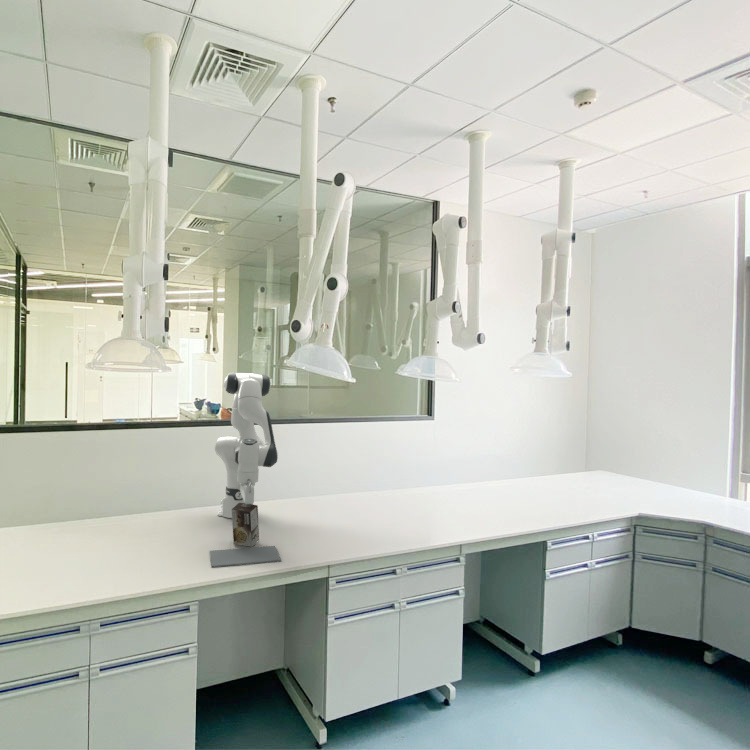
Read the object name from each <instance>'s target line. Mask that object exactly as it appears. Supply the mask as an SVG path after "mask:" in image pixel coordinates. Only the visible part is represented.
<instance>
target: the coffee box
mask: <svg viewBox="0 0 750 750" xmlns="http://www.w3.org/2000/svg"><path fill="white" fill-rule="evenodd" d="M258 507H259V506H258V504H253V505H252V504H245V503H238V504H237V505H236V506H235V507H234V508H232V518H231V523H232V524H231V525H232V536H233V537H232V540H233V544H234V545H240V546H245V547H249V548H251V547H255V546H254V545H256V544H257V543H258V542H259V540H260V535H259V534H260V533H259V530H260V529H259V509H258Z"/></svg>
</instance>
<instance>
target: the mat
mask: <svg viewBox="0 0 750 750" xmlns="http://www.w3.org/2000/svg"><path fill="white" fill-rule="evenodd" d="M209 556H210V563H211V564H210V566H211V568H220V567H222V568H223V567H234V566H235V567H236V566H244V565H245V566H246V565H255V564H266V563H267V562H268V563H277V561H279V562H278V563H280V562H282V558H281V555H280V554H279V551H278V549H277V547H276V545H265V546H264V545H263V546H253V547H242V548H241V547H239V548H238V547H237V548H230V549H229V548H227V549H218V550H217V549H213V550H209Z"/></svg>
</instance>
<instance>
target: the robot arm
mask: <svg viewBox="0 0 750 750" xmlns="http://www.w3.org/2000/svg"><path fill="white" fill-rule="evenodd" d="M223 383H224V388H225V391H226V393H228V394H229V395H230V394H231V395H234V396H233V400H232V404H231V405H232V407H231V415H230V416H231V417H230V423H231V427H233V428H234V429H235V430H237V432H238V433H239V436H231V435H226V436H220V437H219V438H217V440H216V441H215V444H214V451H215V453H216V455H217V456H219V458H220V459H221V460H222V462H223V464H224V466H225V468H226V487H225V496H224V497H223V498H222V499H221V500H220V504H221V506H220V509H219V510H218V512H217V516H219V517H223V518H228V519H232V508H234V507H235V506H236V505H237V504H238V503H245V504H252V505H254V501H255V485H256V484H257V483H258V482H259V473H260V472H259V467H265V468H271V467H273V466H275V464H276V463H277V462H278V458H279V457H278V456H279V453H278V449H277V447H276V441H275V436H274V431H273V425H272V420H271V416H270V414H269V411H267V410H265V408H264V405H263V397H265V396H266V395H268V394H269V392H270V390H271V387H272V384H271V379H270V377H269V376H268V375H265V374H258V373H254V372H253V373H251V372H249V373H247V372H229V373H228V374H227V375H226V377H225V379H224V381H223ZM255 425H258V426H260V427H261V428H262V432H263V435H264V441H265V443H264V441H263V440H262V439H261V438H260V437H259V436H258V435H257V432H256V429H255Z"/></svg>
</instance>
